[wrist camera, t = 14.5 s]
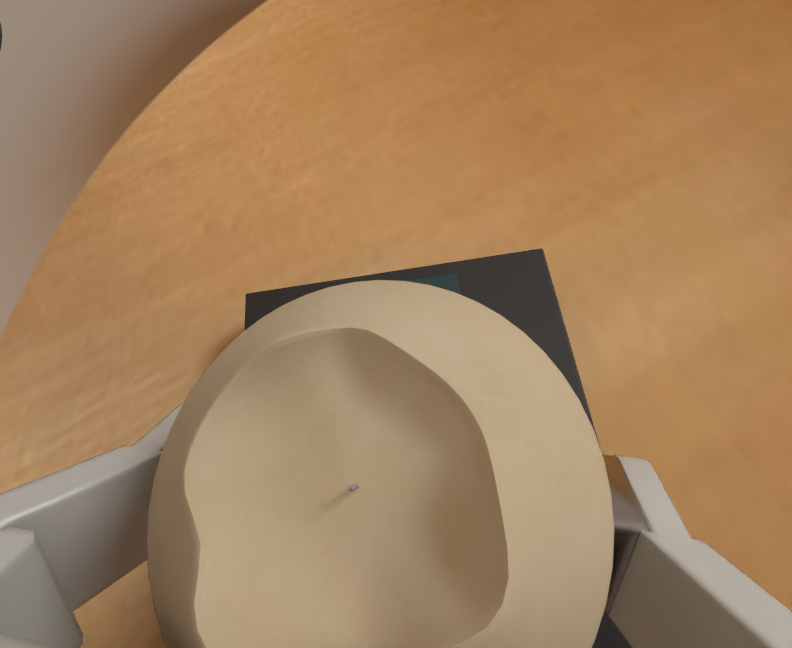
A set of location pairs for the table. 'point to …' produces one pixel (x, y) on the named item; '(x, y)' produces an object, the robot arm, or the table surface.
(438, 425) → the candle
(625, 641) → the scale
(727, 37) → the table surface
